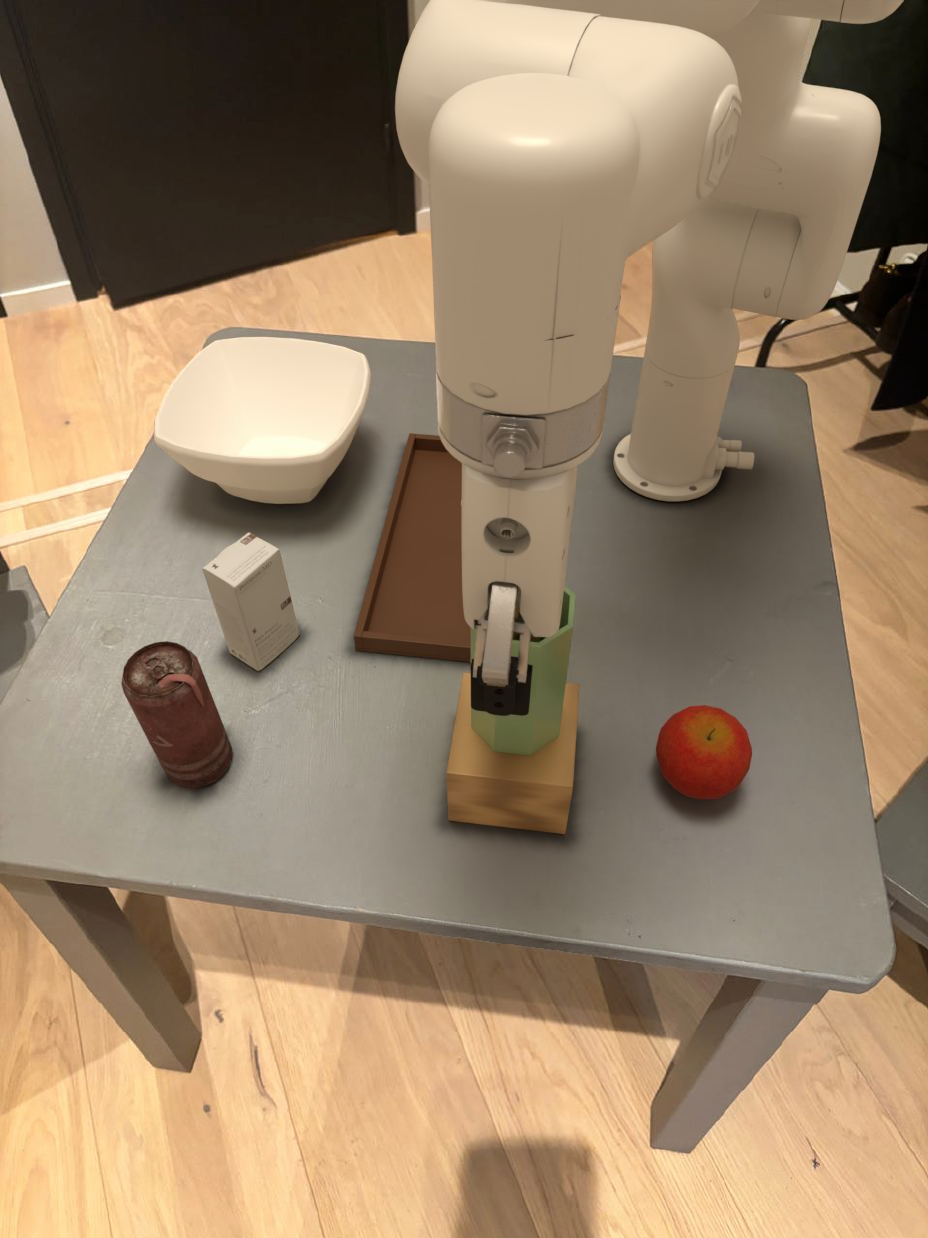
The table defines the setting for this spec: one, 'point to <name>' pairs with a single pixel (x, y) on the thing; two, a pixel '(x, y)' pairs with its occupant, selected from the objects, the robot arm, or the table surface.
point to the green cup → (533, 692)
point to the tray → (419, 562)
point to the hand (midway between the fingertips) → (509, 641)
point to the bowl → (265, 415)
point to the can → (177, 713)
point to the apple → (703, 752)
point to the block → (511, 774)
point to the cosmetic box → (252, 600)
